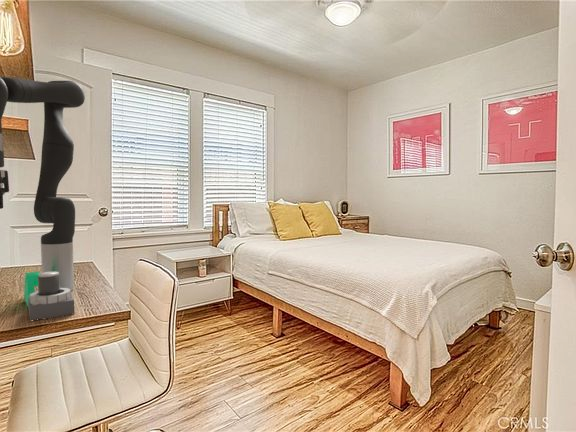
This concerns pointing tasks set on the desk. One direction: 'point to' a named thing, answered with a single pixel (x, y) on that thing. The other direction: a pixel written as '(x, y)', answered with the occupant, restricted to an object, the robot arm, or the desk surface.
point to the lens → (48, 283)
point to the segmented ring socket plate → (50, 304)
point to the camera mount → (30, 284)
